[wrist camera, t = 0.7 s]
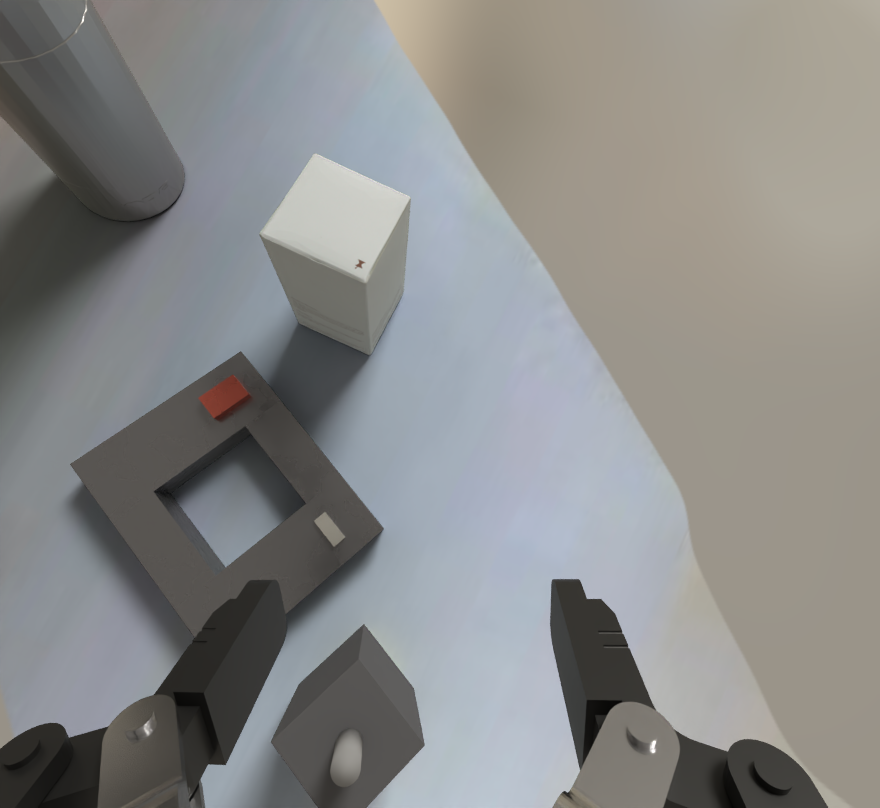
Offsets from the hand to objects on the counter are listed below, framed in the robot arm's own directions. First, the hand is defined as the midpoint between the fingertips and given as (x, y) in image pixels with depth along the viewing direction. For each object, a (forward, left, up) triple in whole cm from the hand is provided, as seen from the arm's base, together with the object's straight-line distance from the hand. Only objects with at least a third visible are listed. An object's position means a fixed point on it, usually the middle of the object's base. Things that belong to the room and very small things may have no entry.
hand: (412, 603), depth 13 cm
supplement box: (-19, +10, -23) cm, 32 cm away
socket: (-11, -7, -23) cm, 26 cm away
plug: (+5, -8, -23) cm, 25 cm away
